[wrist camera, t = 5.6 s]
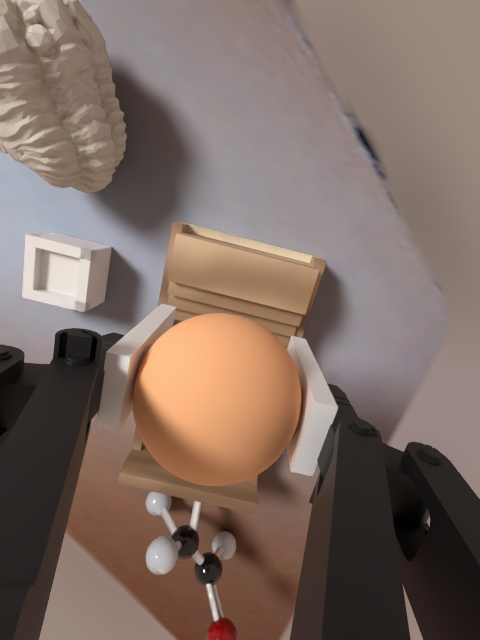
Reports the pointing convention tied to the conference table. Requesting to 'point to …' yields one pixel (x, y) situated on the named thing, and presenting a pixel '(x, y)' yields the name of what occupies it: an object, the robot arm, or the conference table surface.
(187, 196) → the conference table surface
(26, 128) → the fossil replica
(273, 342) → the ball
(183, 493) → the wooden stepped tray
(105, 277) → the white open box
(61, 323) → the conference table surface
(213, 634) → the molecular model
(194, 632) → the conference table surface
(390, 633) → the robot arm
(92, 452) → the conference table surface
